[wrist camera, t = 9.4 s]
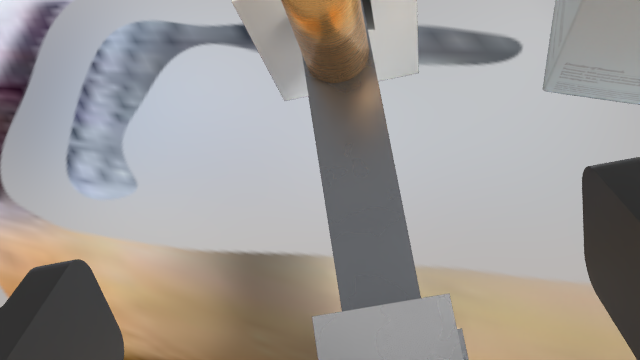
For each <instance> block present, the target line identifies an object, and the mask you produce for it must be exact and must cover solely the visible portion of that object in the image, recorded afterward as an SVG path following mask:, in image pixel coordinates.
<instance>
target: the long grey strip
mask: <svg viewBox="0 0 640 360" xmlns="http://www.w3.org/2000/svg"><path fill="white" fill-rule="evenodd" d="M281 2H282V4H283V7H284V9H285V12H286V14H287V17H288V19H289V22H290V24H291V27H292V30H293V32H294V35H295V37H296V40H297V42H298V45H299V47H300V50H301V52H302V58H303V64H304V70H305V77H306V83H307V90H308V96H309V102H310V108H311V115H312V122H313V128H314V134H315V141H316V147H317V154H318V160H319V167H320V173H321V179H322V186H323V192H324V198H325V205H326V211H327V218H328V224H329V230H330V237H331V243H332V249H333V256H334V263H335V269H336V275H337V282H338V288H339V295H340V301H341V308H342V312H343V311H348V310H354V309H360V308H366V307H372V306H378V305H384V304H390V303H396V302H402V301H408V300H414V299H420V298H421V296H420V291H419V286H418V281H417V276H416V271H415V266H414V261H413V256H412V250H411V245H410V241H409V236H408V230H407V226H406V221H405V215H404V210H403V205H402V200H401V195H400V190H399V186H398V180H397V175H396V170H395V165H394V160H393V155H392V150H391V144H390V139H389V134H388V130H387V124H386V119H385V114H384V109H383V104H382V99H381V94H380V89H379V84H378V79H377V74H376V69H375V64H374V59H373V54H372V49H371V44H370V38H369V33H368V28H367V23H366V18H365V13H364V8H363V3H362V0H281Z"/></svg>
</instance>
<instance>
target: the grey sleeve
mask: <svg viewBox="0 0 640 360" xmlns="http://www.w3.org/2000/svg"><path fill="white" fill-rule="evenodd" d="M312 319H313V327H314V334H315V341H316V348H317V355H318V360H469V359H468V355H467V350H466V345H465V341H464V336H463V331H462V329H457V327H456V322H455V318H454V313H453V308H452V304H451V299H450V294H444V295H438V296H432V297H426V298H420V299H414V300H408V301H402V302H396V303H390V304H384V305H378V306H372V307H366V308H360V309H354V310H348V311H343V312H337V313H331V314H325V315H319V316H313V317H312Z"/></svg>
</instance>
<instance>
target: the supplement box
mask: <svg viewBox="0 0 640 360" xmlns="http://www.w3.org/2000/svg"><path fill="white" fill-rule="evenodd" d="M543 90H544V91H548V92H554V93H561V94H567V95H574V96H583V97H589V98H595V99H603V100H610V101H617V102H624V103H632V104H639V105H640V0H556V2H555V8H554V14H553V21H552V28H551V34H550V42H549V49H548V55H547V63H546V69H545V77H544V84H543Z"/></svg>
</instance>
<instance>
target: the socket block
mask: <svg viewBox="0 0 640 360" xmlns="http://www.w3.org/2000/svg"><path fill="white" fill-rule="evenodd" d="M232 3H233V5H234V7H235V8H236V10H237V12H238V14H239V16H240V18H241V20H242V22H243V24H244V26H245V27H246V29H247V31H248V33H249V35H250V37H251V39H252V41H253V43H254V44H255V46H256V48H257V50H258V52H259V54H260V56H261V58H262V59H263V61H264V63H265V65H266V67H267V69H268V71H269V73H270V75H271V76H272V78H273V80H274V82H275V84H276V86H277V88H278V90H279V91H280V93H281V95H282V97H283V99H284V101H288V100H293V99H298V98H302V97H307V96H308V90H307V83H306V77H305V70H304V64H303V58H302V52H301V50H300V47H299V45H298V42H297V40H296V37H295V35H294V32H293V30H292V27H291V24H290V22H289V19H288V17H287V14H286V12H285V9H284V7H283V4H282V2H281V0H232ZM362 3H363V8H364V13H365V18H366V23H367V28H368V33H369V38H370V44H371V49H372V54H373V59H374V64H375V69H376V74H377V79H378V82H379V81H383V80H388V79H393V78H398V77H402V76H407V75H412V74H417V73H419V65H418V26H417V0H362Z"/></svg>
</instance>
